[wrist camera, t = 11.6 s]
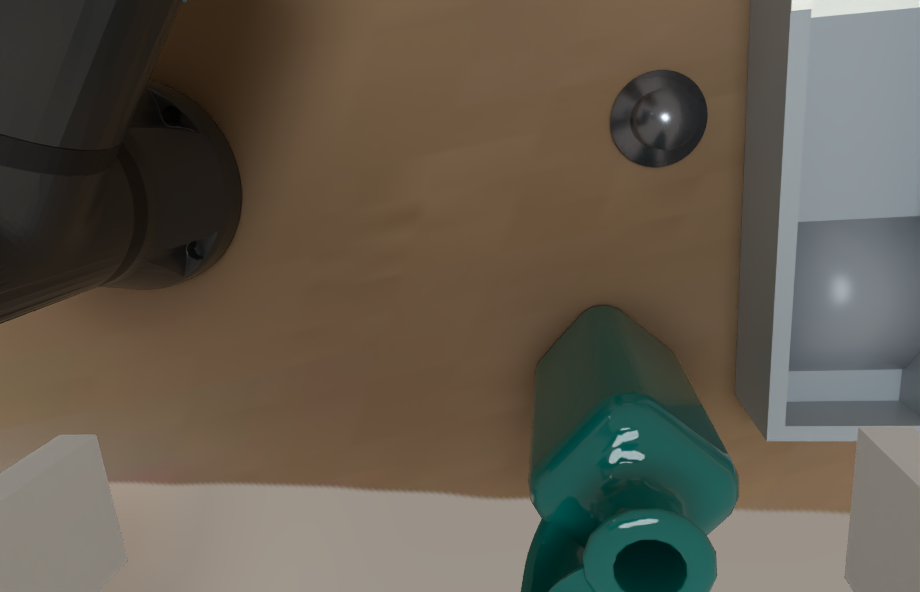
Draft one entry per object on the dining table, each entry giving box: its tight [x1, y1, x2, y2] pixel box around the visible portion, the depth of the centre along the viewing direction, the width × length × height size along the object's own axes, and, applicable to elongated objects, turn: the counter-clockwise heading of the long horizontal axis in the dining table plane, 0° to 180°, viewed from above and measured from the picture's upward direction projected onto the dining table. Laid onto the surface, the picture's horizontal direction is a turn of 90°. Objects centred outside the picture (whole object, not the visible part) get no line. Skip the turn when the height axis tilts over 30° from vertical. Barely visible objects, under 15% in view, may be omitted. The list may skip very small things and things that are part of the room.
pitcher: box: [521, 306, 739, 592], centre depth 36 cm, size 10×8×22 cm
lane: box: [735, 0, 920, 441], centre depth 38 cm, size 10×42×14 cm, turn 4°
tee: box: [610, 70, 707, 167], centre depth 39 cm, size 6×6×4 cm
